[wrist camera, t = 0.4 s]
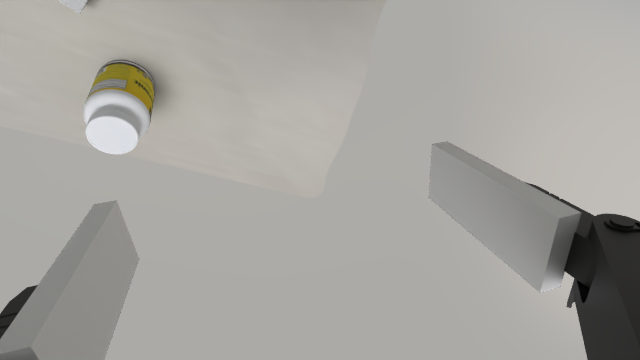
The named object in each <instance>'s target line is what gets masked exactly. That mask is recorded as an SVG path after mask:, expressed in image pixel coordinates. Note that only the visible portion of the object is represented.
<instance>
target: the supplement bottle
mask: <svg viewBox="0 0 640 360" xmlns="http://www.w3.org/2000/svg"><path fill="white" fill-rule="evenodd" d="M154 96H155V86H154V82H153V80H152V78H151V76H150V75H149V74H148V72H147V71H146V70H144V69H143V68H142V67H140V66H139V65H137V64H135V63H132V62H128V61H113V62H110V63H107V64H106V65H104V66H103V67H102V68H101V69H100V70H99V72H98V74H97V76H96V78H95V81H94V83H93V86H92V88H91V90H90V92H89V95H88V97H87V99H86V102H85V104H84V107H83V118H84V121H85V123H86V125H87V126H86V130H85V133H86V137H87V139H88V141H89V142H90V143H91V145H93V146H94V147H95V148H96V149H98V150H100V151H103V152H105V153H109V154H124V153H127V152H129V151H131V150H133V149H134V148H135V147H136V145H137V144H138V140H139V139H140V138H141V137H142V136H144V135H145V133H146V132H147V130H148V128H149V125H150V120H151V114H152V107H153V101H154Z"/></svg>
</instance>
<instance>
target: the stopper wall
mask: <svg viewBox="0 0 640 360" xmlns="http://www.w3.org/2000/svg"><path fill="white" fill-rule="evenodd" d="M58 1H59V2H61V3H63V4H64V5H66V6H67V7H69V8H71V9H72V10H74V11H75V12H77V13H79V14H80V13H81V11H82V10H83V9H84V7H85V6H86V4H87V2H88V1H89V0H58Z"/></svg>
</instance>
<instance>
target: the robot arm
mask: <svg viewBox="0 0 640 360" xmlns="http://www.w3.org/2000/svg"><path fill="white" fill-rule="evenodd" d="M430 168H431V169H430V183H429V184H430V185H429V199H431V200H432V201H433V202H434V203H435V204H436V205H438V206H439V207H440V208H441V209H442V210H443V211H445V212H446V213H447V214H448V215H449V216H451V217H452V218H453V219H454V220H455V221H456V222H457V223H459V224H460V225H461V226H462V227H463V228H465V229H466V230H467V231H468V232H469V233H470V234H472V235H473V236H474V237H475V238H476V239H478V240H479V241H480V242H481V243H482V244H483V245H484V246H486V247H487V248H488V249H489V250H490V251H492V252H493V253H494V254H495V255H496V256H497V257H499V258H500V259H501V260H502V261H503V262H504V263H506V264H507V265H508V266H509V267H510V268H511V269H513V270H514V271H515V272H516V273H517V274H519V275H520V276H521V277H522V278H523V279H524V280H526V281H527V282H528V283H529V284H530V285H531V286H533V287H534V288H535V289H536V290H537V291H539V292H540V293H541V292H544V291H548V290H551V289H555V288H558V287H560V286H561V282H562V279H563V276H564V272H567V273H568V274H570V275H571V276H572V277H574V278H575V279H574V282H573V285H572V289H571V292H570V295H569V299H568V302H567V307H569V308H571V306H572V303H573V302H575V304H576V308H577V313H578V317H579V322H580V326H581V331H582V335H583V340H584V345H585V349H586V354H587V358H588V360H640V222H639V221H637V220H635V219H632V218H629V217H626V216H621V215H616V214H600V215H597V216H594V215H592V214H590V213H588V212H586V211H584V210H582V209H580V208H578V207H576V206H574V205H573V204H571V203H569V202H567V201H565V200H563V199H559V197H557V196H555V195H553V194H549V192H548V191H546V190H544V189H542V188H540V187H538V186H536V185H533V184H529V183H526V182H523V181H521V180H519V179H517V178H515V177H513V176H511V175H509V174H508V173H506V172H503V171H502V170H500V169H498V168H496V167H494V166H493V165H491V164H489V163H487V162H485V161H483V160H481V159H479V158H478V157H476V156H474V155H472V154H470V153H468V152H466V151H464V150H462V149H461V148H459V147H457V146H455V145H453V144H451V143H449V142H441V143H435V144H432V152H431V167H430ZM138 261H139V257H138V254H137V252H136V249H135V247H134V244H133V241H132V239H131V236H130V234H129V231H128V229H127V226H126V223H125V221H124V218H123V216H122V213H121V210H120V208H119V205H118V203H117V201H110V202H105V203H100V204H94V206H93V207H92V208H91V210H90V211H89V213H88V214H87V216H86V217H85V219H84V220H83V221H82V223H81V224H80V226H79V227H78V229H77V230H76V231H75V233H74V234H73V236H72V237H71V239H70V240H69V241H68V243H67V244H66V246H65V247H64V249H63V250H62V251H61V253H60V254H59V256H58V257H57V259H56V260H55V262H54V263H53V264H52V266H51V267H50V269H49V270H48V272H47V273H46V275H45V276H44V277H43V279H42V280H41V282H40V283H39V284H38V285H36V286H32V287H27V288H26V289H25V290H23V291H22V292H21V293H20V294H19V295H17V296H16V297H15V298H14V299H12V300H11V301H10V302H9V303H8V304H7V306H6V307H5V308H4V310H3V311H2V312H1V314H0V360H104V359H105V356H106V353H107V350H108V347H109V344H110V341H111V339H112V336H113V333H114V330H115V327H116V324H117V322H118V319H119V316H120V313H121V309H122V307H123V304H124V301H125V299H126V296H127V293H128V290H129V287H130V284H131V281H132V278H133V276H134V273H135V269H136V267H137V264H138Z"/></svg>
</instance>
